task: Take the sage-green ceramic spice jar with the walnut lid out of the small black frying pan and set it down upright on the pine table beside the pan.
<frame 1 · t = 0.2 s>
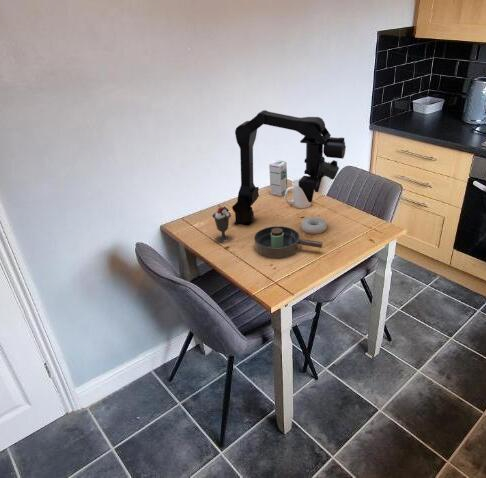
hand: (313, 196, 156), 15 cm above the table, tool pointing down, fingers open, 9 cm apart
cup: (297, 205, 184), on the table
donut: (313, 229, 166), on the table
black frying pan: (277, 247, 154), on the table
spice jar: (277, 246, 154), resting on black frying pan
syrup box: (278, 193, 196), on the table
sundae: (223, 240, 160), on the table
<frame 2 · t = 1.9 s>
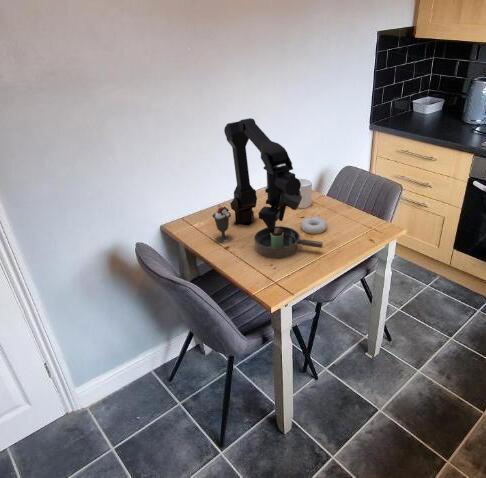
hand: (276, 226, 150), 9 cm above the table, tool pointing down, fingers open, 9 cm apart
nothing on the table moved.
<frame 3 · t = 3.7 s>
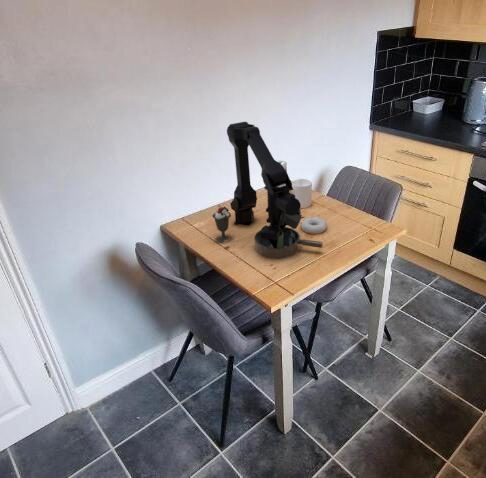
hand: (277, 244, 153), 2 cm above the table, tool pointing down, fingers closed on spice jar, 4 cm apart
spice jar: (277, 246, 154), point 1 cm above the table, touching gripper, black frying pan
everything else where it was.
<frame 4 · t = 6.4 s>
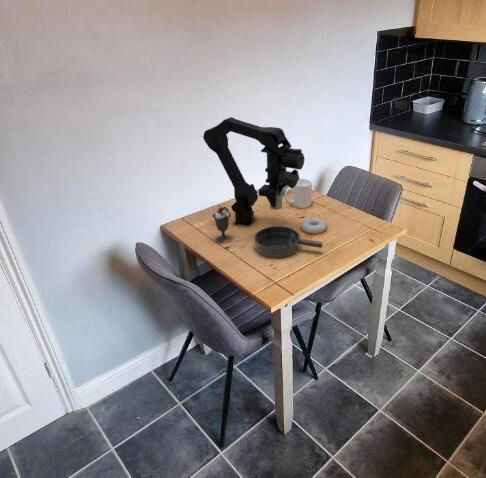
hand: (275, 204, 160), 11 cm above the table, tool pointing down, fingers closed on spice jar, 4 cm apart
spice jar: (276, 207, 161), point 10 cm above the table, touching gripper
everything else where it was.
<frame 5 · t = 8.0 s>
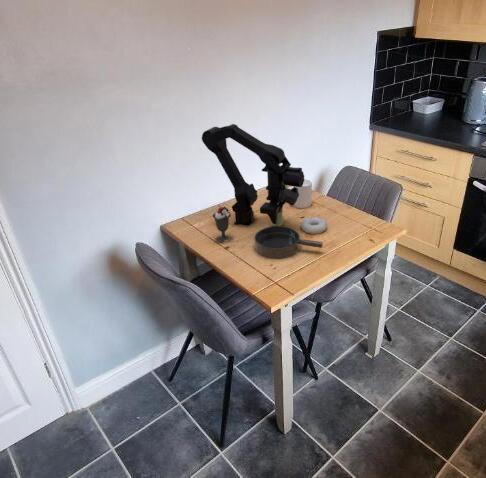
hand: (276, 220, 165), 3 cm above the table, tool pointing down, fingers closed on spice jar, 4 cm apart
spice jar: (276, 223, 166), point 2 cm above the table, touching gripper
everything else where it was.
when the fingers open (1 cm above the table, at t = 9.1 s): spice jar stays where it is, on the table.
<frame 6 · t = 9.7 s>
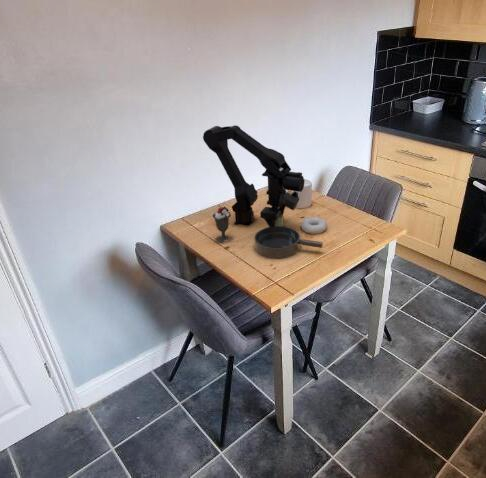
hand: (276, 225, 166), 1 cm above the table, tool pointing down, fingers open, 9 cm apart
spice jar: (276, 228, 167), on the table
everything else where it was.
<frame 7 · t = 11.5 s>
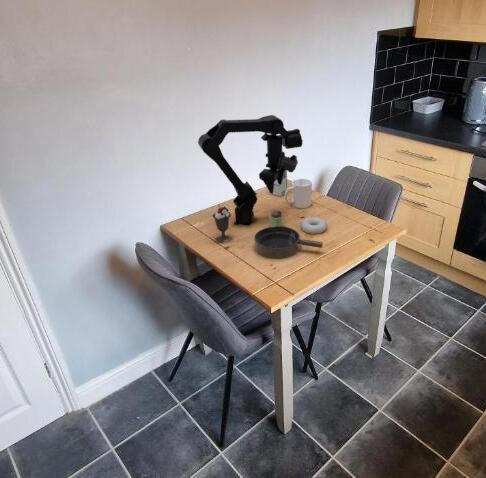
hand: (275, 188, 170), 12 cm above the table, tool pointing down, fingers open, 9 cm apart
nothing on the table moved.
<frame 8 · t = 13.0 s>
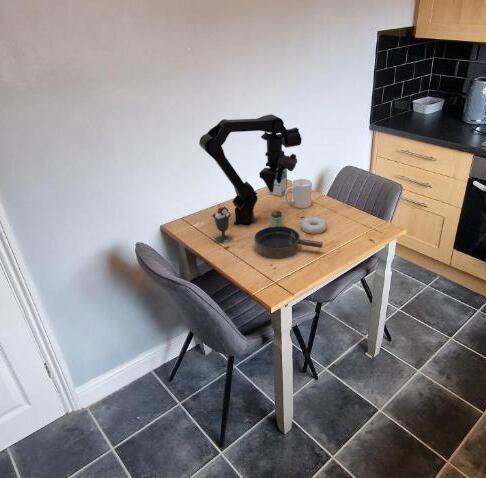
hand: (275, 187, 171), 12 cm above the table, tool pointing down, fingers open, 9 cm apart
nothing on the table moved.
at the end: spice jar inside the target area (0.0 cm from its centre), on the table; spice jar tilted 0°; spice jar touching table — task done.
